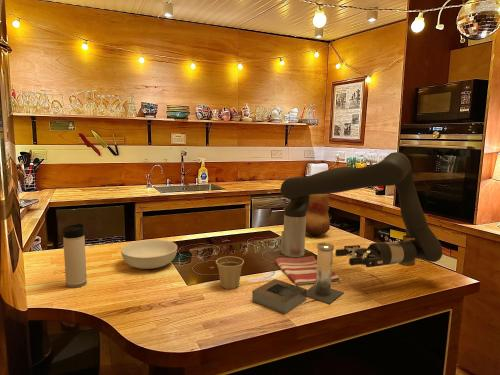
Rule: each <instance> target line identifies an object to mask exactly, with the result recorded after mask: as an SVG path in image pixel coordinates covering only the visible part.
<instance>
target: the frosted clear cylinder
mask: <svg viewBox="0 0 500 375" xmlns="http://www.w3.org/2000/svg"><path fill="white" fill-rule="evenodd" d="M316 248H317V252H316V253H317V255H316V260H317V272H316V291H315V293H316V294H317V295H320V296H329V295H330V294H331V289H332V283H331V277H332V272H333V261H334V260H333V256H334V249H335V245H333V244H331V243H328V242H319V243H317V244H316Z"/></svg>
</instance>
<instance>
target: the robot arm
mask: <svg viewBox="0 0 500 375" xmlns="http://www.w3.org/2000/svg"><path fill="white" fill-rule="evenodd" d="M410 161H411V160H410V159H409V158H408V156H406V154H404V153H402V152H399V151H398V152H397V151H393V152H391V153H389V154H387V155H386V156H385V157H384V158H383V159H382V160H381V161H378V162H377V163H373V164H371V165H367V166H362V167H355V166H354V167H353V166H338V167H334V168H330V169H327V170H323V171H320V172H316V173H313V174H311V175H307V176H294V177H293V176H292V177H288V178H286V179H285V180H284V181H283V182H282V183H281V185H280V194H281V195H282V197H284V199H287V200H290V201H289V203H288V205H287V206H285V207H284V210H283V211H284V212H283V214H284V215H283V231H281V239H280V254H282V255H283V256H284V257H287V258H302V257H305V251H306V250H305V248H306V247H305V246H306V231H305V230H306V212H307V210H308V206H309V196H310V195H312V194H329V195H330V194H338V193H344V192H349V191H354V190H360V189H364V188H372V187H388V186H395V189H396V190H397V196H398V201H399V209H400V215H401V219H402V222H403V224H404V227H405V229H406V230H407V232H408V234H409V235H410V236H411V237H412V238H414V239H412V240H409V241H406V242H403V241H383V242H372V243H370V244H369V246H368V247H361V245H359V244H354V245H344V246H343V248H338V249H336V250H335V252H334V253H335V256H336V257H345V256H348V257H350V258H349V259H348V264H349V265H350V266H359V265H361V266H365V267H366V268H375V267H380V266H381V267H382V266H390V265H396V264H400V263H404V262H411V261H413V260H414V259H415V260H416V259H418V260H419V259H420V260H423V261H425V262H431V263H436V262H439V260H441V259H442V256H443V248H442V244H441V242H440V240H439V239H438V237H437V236H436V234H434V232H433V231H432V229H431V228H430V226H429V224H428V221H427V219H426V216H425V214H424V213H425V212H424V211H423V207H422V205H421V202H420V200H419V196H418V192H417V189H416V185H415V181H414V174H413V170H412V165H411V162H410Z"/></svg>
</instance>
